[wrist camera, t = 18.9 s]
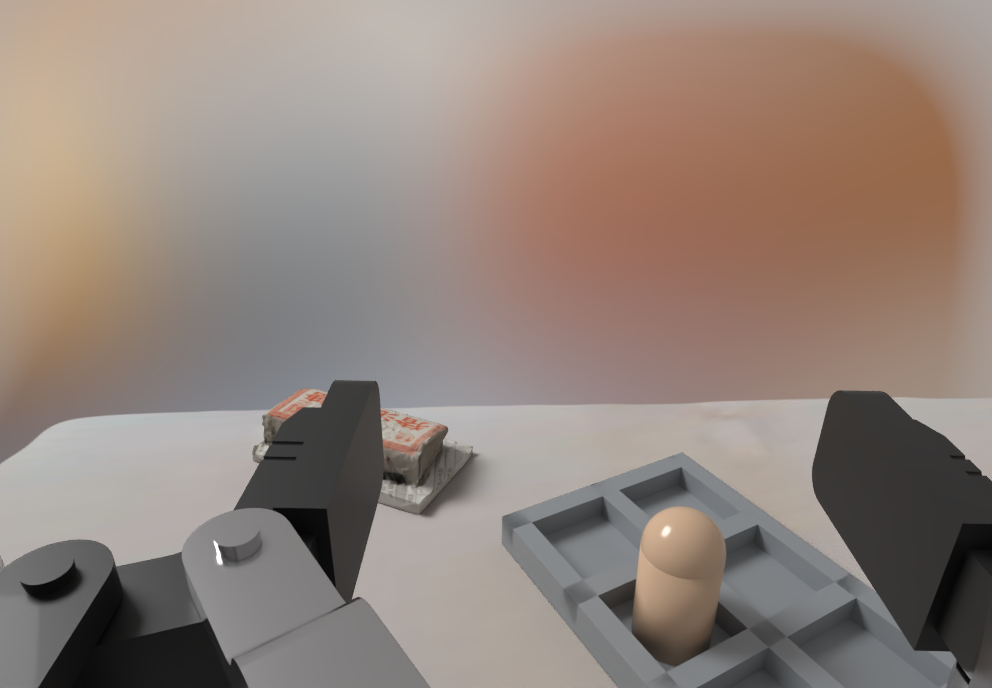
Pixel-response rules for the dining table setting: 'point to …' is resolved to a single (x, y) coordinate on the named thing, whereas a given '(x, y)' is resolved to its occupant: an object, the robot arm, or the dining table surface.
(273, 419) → the packaged product
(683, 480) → the grey compartment tray
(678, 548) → the tan domed cylinder
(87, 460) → the dining table surface
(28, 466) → the dining table surface
